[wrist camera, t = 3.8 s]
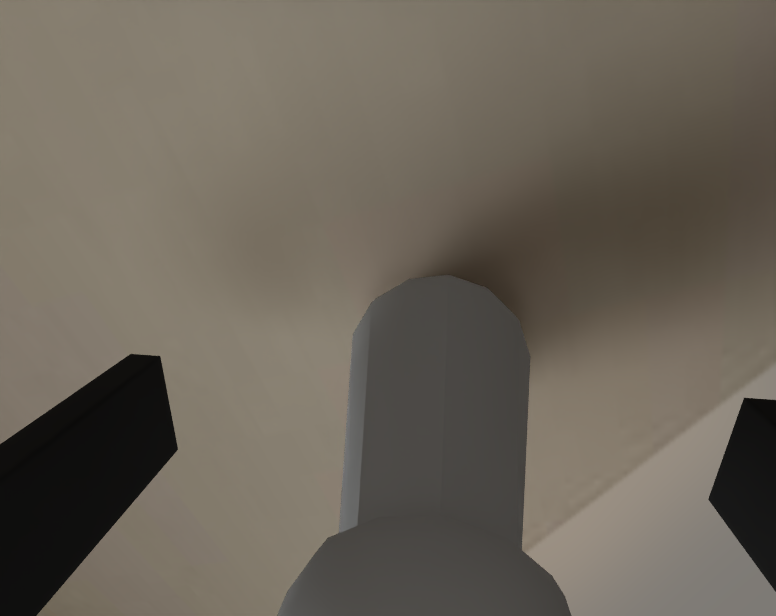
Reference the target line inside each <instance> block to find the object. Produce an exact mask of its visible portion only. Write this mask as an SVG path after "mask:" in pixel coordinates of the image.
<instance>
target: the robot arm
mask: <svg viewBox="0 0 776 616" xmlns="http://www.w3.org/2000/svg"><path fill="white" fill-rule="evenodd" d="M177 450H178V447H177V442H176V437H175V432H174V426H173V421H172V416H171V411H170V405H169V400H168V395H167V389H166V384H165V379H164V374H163V368H162V363H161V358H160V356H151V355H136V354H130V355H129V356H127V357H126V358H124V359H123V360H121V361H120V362H118V363H117V364H116V365H114V366H113V367H111V368H110V369H108V370H107V371H105V372H104V373H103V374H101V375H100V376H98V377H97V378H95V379H94V380H92V381H91V382H90V383H88V384H87V385H85V386H84V387H82V388H81V389H79V390H78V391H77V392H75V393H74V394H72V395H71V396H69V397H68V398H66V399H65V400H64V401H62V402H61V403H59V404H58V405H56V406H55V407H53V408H52V409H51V410H49V411H48V412H46V413H45V414H43V415H42V416H40V417H39V418H38V419H36V420H35V421H33V422H32V423H30V424H29V425H27V426H26V427H25V428H23V429H22V430H20V431H19V432H17V433H16V434H14V435H13V436H12V437H10V438H9V439H7V440H6V441H4V442H3V443H1V444H0V616H36V615H37V614H38V613H39V612H40V611H41V610H42V608H43V607H44V606H45V605H46V604H47V602H48V601H49V600H50V599H51V598H52V597H53V595H54V594H55V593H56V592H57V591H58V590H59V588H60V587H61V586H62V585H63V584H64V583H65V581H66V580H67V579H68V578H69V577H70V575H71V574H72V573H73V572H74V571H75V570H76V568H77V567H78V566H79V565H80V564H81V563H82V561H83V560H84V559H85V558H86V557H87V556H88V554H89V553H90V552H91V551H92V550H93V549H94V547H95V546H96V545H97V544H98V543H99V541H100V540H101V539H102V538H103V537H104V536H105V534H106V533H107V532H108V531H109V530H110V529H111V527H112V526H113V525H114V524H115V523H116V522H117V520H118V519H119V518H120V517H121V516H122V514H123V513H124V512H125V511H126V510H127V509H128V507H129V506H130V505H131V504H132V503H133V502H134V500H135V499H136V498H137V497H138V496H139V495H140V493H141V492H142V491H143V490H144V489H145V487H146V486H147V485H148V484H149V483H150V482H151V480H152V479H153V478H154V477H155V476H156V475H157V473H158V472H159V471H160V470H161V469H162V468H163V466H164V465H165V464H166V463H167V462H168V460H169V459H170V458H171V457H172V456H173V455H174V453H175V452H176V451H177ZM709 501H710V502H711V504H712V505H713V506H714V508H715V509H716V510H717V512H718V513H719V515H720V516H721V517H722V519H723V520H724V521H725V523H726V524H727V526H728V527H729V528H730V529H731V531H732V532H733V534H734V535H735V536H736V538H737V539H738V541H739V542H740V543H741V545H742V546H743V547H744V549H745V550H746V552H747V553H748V554H749V556H750V557H751V558H752V560H753V561H754V563H755V564H756V565H757V567H758V568H759V569H760V571H761V572H762V574H763V575H764V576H765V578H766V579H767V580H768V582H769V583H770V584H771V586H772V587H773V588H774V590H775V591H776V400H767V399H753V398H744V400H743V403H742V405H741V409H740V411H739V414H738V417H737V420H736V422H735V425H734V428H733V431H732V434H731V437H730V440H729V443H728V445H727V448H726V451H725V454H724V456H723V459H722V462H721V465H720V468H719V471H718V473H717V476H716V479H715V482H714V485H713V488H712V491H711V493H710V496H709Z"/></svg>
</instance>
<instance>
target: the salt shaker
mask: <svg viewBox="0 0 776 616" xmlns="http://www.w3.org/2000/svg"><path fill="white" fill-rule="evenodd" d="M529 375H530V354H529V350H528V347H527V344H526V341H525V338H524V334H523V331H522V328H521V325H520V321H519V319H518V318H517V317H516V316H515V315H514V314H513V313H512V312H511V311H510V310H509V309H508V308H507V307H506V306H505V305H504V304H503V303H502V302H501V301H500V300H499V299H498V298H497V297H496V296H495V295H494V294H493V293H492V292H491V291H490V290H489V289H488V288H486V287H483V286H481V285H478V284H475V283H472V282H469V281H466V280H463V279H460V278H457V277H454V276H451V275H441V276H432V277H423V278H414V279H408V280H407V281H405V282H403V283H402V284H400V285H398V286H397V287H395V288H393V289H391V290H390V291H388V292H386V293H385V294H383V295H381V296H380V297H378V298H376V299H375V300H374V301H373V302H372V303H371V304H370V306H369V308H368V309H367V311H366V313H365V314H364V316H363V318H362V320H361V321H360V323H359V325H358V326H357V328H356V330H355V331H354V333H353V340H352V353H351V366H350V380H349V395H348V409H347V423H346V438H345V452H344V467H343V481H342V495H341V510H340V524H339V533H338V534H336V535H334V536H331V537H329V538H327V540H326V541H325V542H324V543H323V544H322V546H321V547H320V548H319V549H318V551H317V552H316V553H315V554H314V556H313V557H312V559H311V560H310V561H309V563H308V564H307V565H306V567H305V568H304V570H303V571H302V572H301V574H300V575H299V576H298V578H297V579H296V581H295V582H294V583H293V585H292V586H291V587H290V589H289V590H288V592H287V594H286V596H285V598H284V601H283V603H282V605H281V608H280V610H279V612H278V614H277V616H571V613H570V611H569V607H568V604H567V601H566V599H565V596H564V594H563V593H562V591H561V589H560V588H559V586H558V585H557V583H556V581H555V580H554V578H553V577H552V575H550V574H549V573H548V572H547V571H546V570H545V569H543V568H542V567H541V566H540V565H539V564H537V563H536V562H535V561H534V560H533V559H532V558H530V557H529V556H528V555H527V554H526V553H524V552H523V551H522V532H523V509H524V487H525V464H526V442H527V420H528V397H529Z"/></svg>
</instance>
